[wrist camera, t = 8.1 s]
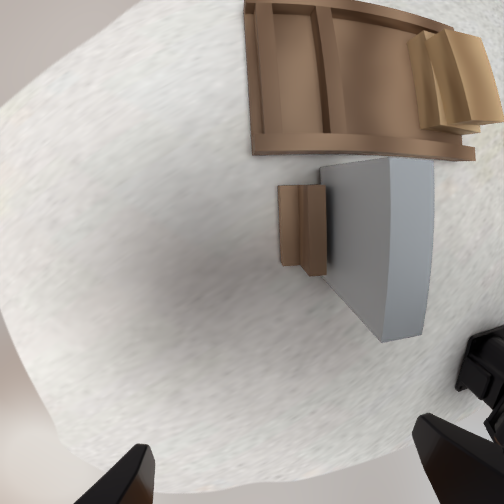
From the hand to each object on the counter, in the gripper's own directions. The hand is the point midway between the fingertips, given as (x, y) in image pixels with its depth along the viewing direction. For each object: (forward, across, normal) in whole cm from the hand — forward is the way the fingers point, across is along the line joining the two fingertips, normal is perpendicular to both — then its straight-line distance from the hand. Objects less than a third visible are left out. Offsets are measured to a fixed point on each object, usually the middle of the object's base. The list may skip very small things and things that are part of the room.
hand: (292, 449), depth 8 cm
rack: (+13, -8, -15) cm, 22 cm away
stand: (+13, -5, -5) cm, 15 cm away
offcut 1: (+12, -14, -16) cm, 24 cm away
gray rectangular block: (+12, -5, -5) cm, 14 cm away
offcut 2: (+10, -14, -15) cm, 23 cm away
